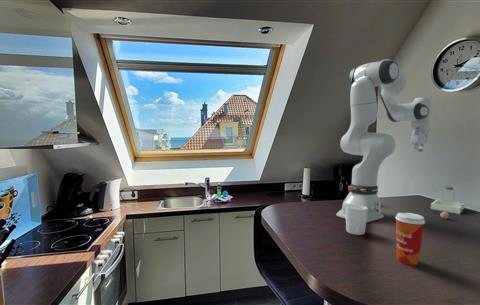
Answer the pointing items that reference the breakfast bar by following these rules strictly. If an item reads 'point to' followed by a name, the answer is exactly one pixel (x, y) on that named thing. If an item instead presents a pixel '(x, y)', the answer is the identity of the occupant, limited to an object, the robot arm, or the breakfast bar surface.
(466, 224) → the breakfast bar surface
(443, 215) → the ball
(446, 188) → the shaker
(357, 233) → the white cup
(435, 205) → the dish
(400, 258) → the paper cup
